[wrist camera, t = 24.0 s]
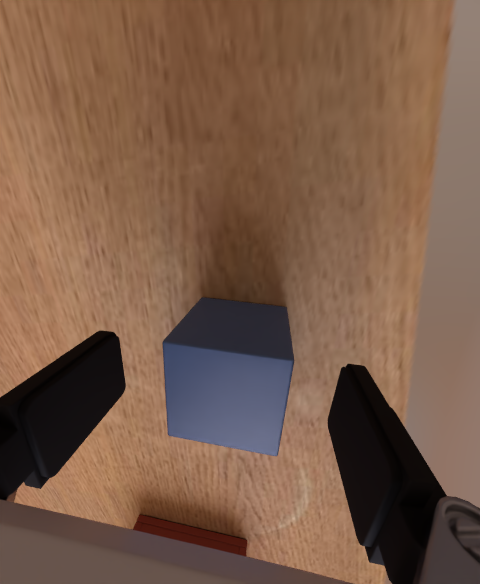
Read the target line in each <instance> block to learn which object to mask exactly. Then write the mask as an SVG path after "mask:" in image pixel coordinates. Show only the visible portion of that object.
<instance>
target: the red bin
mask: <svg viewBox="0 0 480 584" xmlns="http://www.w3.org/2000/svg"><path fill="white" fill-rule="evenodd" d="M133 530H136V531H140V532H144V533H149V534H153V535H157V536H161V537H166V538H170V539H174V540H179V541H183V542H187V543H191V544H196V545H200V546H204V547H208V548H212V549H216V550H221V551H225V552H229V553H233V554H237V555H241V556H246V548H247V540H244V539H240V538H236V537H232V536H228V535H223V534H219V533H215V532H211V531H207V530H202V529H198V528H194V527H190V526H186V525H182V524H177V523H173V522H169V521H165V520H161V519H156V518H152V517H148V516H144V515H139V517H138V519H137V522H136V524H135V526H134V528H133Z"/></svg>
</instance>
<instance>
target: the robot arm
mask: <svg viewBox="0 0 480 584" xmlns="http://www.w3.org/2000/svg"><path fill="white" fill-rule="evenodd" d="M125 387H126V384H125V377H124V370H123V362H122V355H121V348H120V341H119V337H118V336H116V334H115V333H114V332H109V331H98V332H96V333H95V334H93V335H92V336H90V337H89V338H87V339H86V340H85V341H83V342H82V343H80V344H79V345H77V346H76V347H74V348H73V349H71V350H70V351H68V352H67V353H65V354H64V355H62V356H61V357H59V358H58V359H56V360H55V361H54V362H52V363H51V364H49V365H48V366H46V367H45V368H43V369H42V370H40V371H39V372H37V373H36V374H34V375H33V376H31V377H30V378H28V379H27V380H26V381H24V382H23V383H21V384H20V385H18V386H17V387H15V388H14V389H12V390H11V391H9V392H8V393H6V394H5V395H3V396H2V397H0V584H353V583H349V582H345V581H341V580H338V579H334V578H330V577H326V576H322V575H319V574H315V573H311V572H307V571H304V570H300V569H295V568H291V567H287V566H283V565H279V564H275V563H270V562H266V561H262V560H258V559H254V558H250V557H246V556H241V555H237V554H233V553H229V552H225V551H221V550H216V549H212V548H208V547H204V546H200V545H196V544H191V543H187V542H183V541H179V540H174V539H170V538H166V537H161V536H157V535H153V534H149V533H144V532H140V531H136V530H132V529H127V528H123V527H119V526H114V525H110V524H106V523H101V522H97V521H93V520H89V519H84V518H80V517H75V516H71V515H67V514H62V513H58V512H53V511H49V510H45V509H40V508H36V507H31V506H27V505H22V504H18V503H14V500H15V496H16V492H17V488H18V487H19V486H20V485H21V484H22V483H23V482H24V483H25V485H26V486H30V487H35V488H39V489H41V488H42V486H43V485H44V484H45V483H46V482H47V480H48V479H49V478H51V477H53V476H55V475H56V474H57V473H58V472H59V471H60V469H61V468H62V467H63V466H64V465H65V463H66V462H67V461H68V460H69V458H70V457H71V456H72V455H73V454H74V452H75V451H76V450H77V449H78V448H79V446H80V445H81V444H82V443H83V442H84V440H85V439H86V438H87V437H88V435H89V434H90V433H91V432H92V431H93V429H94V428H95V427H96V426H97V425H98V423H99V422H100V421H101V420H102V419H103V417H104V416H105V415H106V414H107V413H108V411H109V410H110V409H111V408H112V406H113V405H114V404H115V403H116V402H117V400H118V399H119V398H120V397H121V396H122V394H123V393H124V391H125ZM328 429H329V433H330V436H331V440H332V444H333V448H334V452H335V456H336V459H337V463H338V467H339V471H340V475H341V479H342V482H343V486H344V490H345V494H346V498H347V501H348V505H349V509H350V513H351V517H352V521H353V524H354V528H355V532H356V536H357V539H358V541H359V543H360V545H362V546H365V549H366V552H367V556H368V560H369V562H371V563H375V564H380V565H384V566H385V568H386V572H387V575H388V578H389V580H390V581H391V583H392V584H480V508H478V507H476V506H475V505H473V504H471V503H470V502H468V501H465V500H463V499H460V498H457V497H450V496H447V495H446V494H445V492H444V491H443V489H442V487H441V486H440V484H439V482H438V481H437V479H436V478H435V476H434V474H433V473H432V471H431V470H430V468H429V466H428V465H427V463H426V461H425V460H424V458H423V457H422V455H421V453H420V452H419V450H418V448H417V447H416V445H415V444H414V442H413V440H412V439H411V437H410V435H409V434H408V432H407V431H406V429H405V427H404V426H403V424H402V422H401V421H400V419H399V418H398V416H397V414H396V413H395V411H394V410H393V409H392V408H391V407H390V406H389V405H388V403H387V402H386V400H385V398H384V397H383V395H382V393H381V392H380V390H379V388H378V387H377V385H376V383H375V382H374V380H373V378H372V377H371V375H370V374H369V372H368V370H367V369H366V367H365V366H361V365H354V364H347V366H346V367H342V368H341V371H340V375H339V379H338V383H337V386H336V390H335V394H334V398H333V401H332V405H331V409H330V413H329V416H328Z"/></svg>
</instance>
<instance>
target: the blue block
mask: <svg viewBox="0 0 480 584" xmlns="http://www.w3.org/2000/svg"><path fill="white" fill-rule="evenodd" d="M163 357H164V374H165V391H166V409H167V426H168V435H169V436H173V437H178V438H183V439H189V440H194V441H199V442H204V443H210V444H215V445H220V446H225V447H230V448H236V449H241V450H246V451H251V452H256V453H262V454H267V455H272V456H277V455H278V451H279V445H280V439H281V434H282V428H283V422H284V416H285V411H286V405H287V399H288V394H289V388H290V382H291V376H292V371H293V365H294V355H293V348H292V341H291V334H290V327H289V319H288V312H287V307H282V306H274V305H265V304H256V303H248V302H239V301H230V300H222V299H213V298H204V297H202V298H201V299H200V300H199V301H198V302H197V303H196V305H195V306H194V307H193V308H192V309H191V310H190V311H189V312H188V314H187V315H186V316H185V317H184V318H183V319H182V320H181V321H180V323H179V324H178V325H177V326H176V327H175V328H174V329H173V330H172V332H171V333H170V334H169V335H168V336H167V337H166V338H165V339H164V341H163Z"/></svg>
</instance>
